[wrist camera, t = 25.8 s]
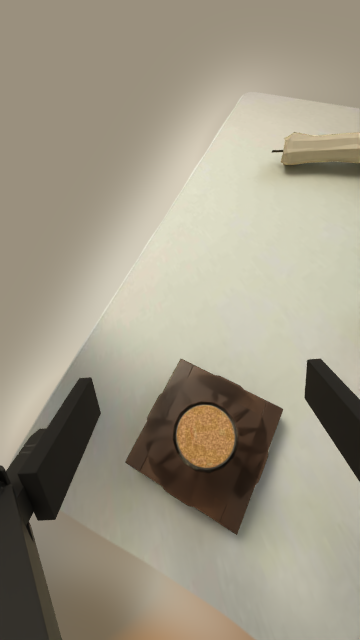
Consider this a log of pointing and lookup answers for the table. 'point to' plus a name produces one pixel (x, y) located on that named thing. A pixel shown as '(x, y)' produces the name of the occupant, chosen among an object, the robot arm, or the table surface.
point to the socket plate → (214, 484)
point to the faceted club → (321, 148)
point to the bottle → (205, 437)
